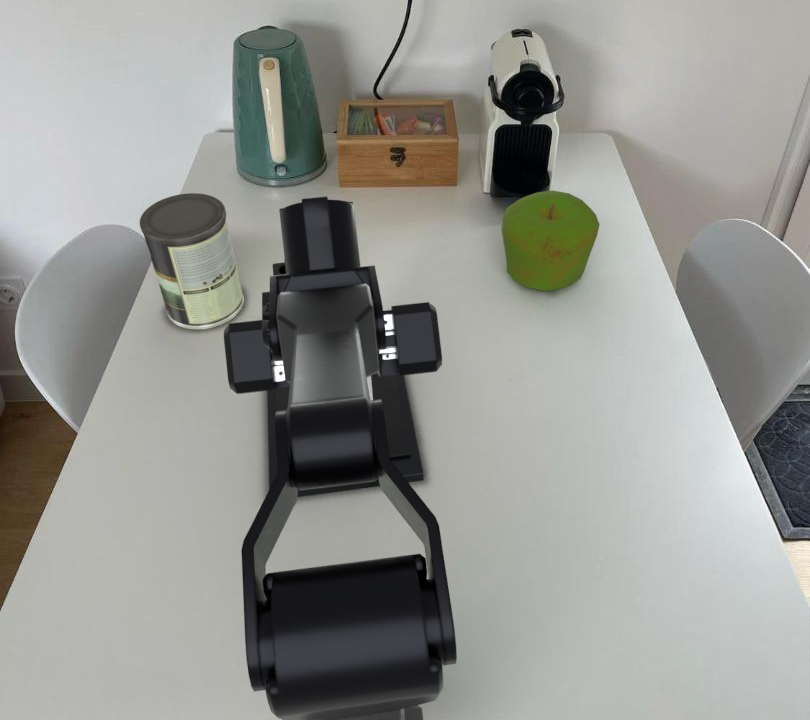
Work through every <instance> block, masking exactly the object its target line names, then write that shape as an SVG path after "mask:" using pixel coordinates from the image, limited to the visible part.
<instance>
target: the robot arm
mask: <svg viewBox="0 0 810 720" xmlns="http://www.w3.org/2000/svg"><path fill="white" fill-rule="evenodd" d="M354 205H355V204H354V202H353V201H347V200H341V199H329V198H328V196H327V195H324V196H316V197H305V198H301V202H296V203H293V204H290V205H287V206H285V207H283V208H279V219H280V228H281V239H282V248H283V257H284V259H283V260H284V261H283V262H275V263H273V264H272V275H269V291H263V292H261V319H258V320H257V319H255V320H248V321H247V320H246V321H239V322H238V321H237V322H230V323H228V324H227V325H226V327H225V328H224V330H223V345H224V353H225V355H224V356H225V363H226V371H227V374H226V375H227V382H228V385H229V389H230V390H231V391H233V392H234V393H235V394H236V395H244V394H251V393H253V394H254V393H260V392H261V393H262V392H267V391H270V390H276V389H282V388H290V390H289V400H288V408H287V410H281V411H276V414H275V434H276V450H277V466H278V473H277V476H276V477H275V479H274V481H273V483H272V485H271V487H270V489H269V488H268V491H267V494H266V495H265V497H264V499H263V501H262V504H261V506H260V507H259V509H258V511H257V512H256V514H255V516H254V519H253V521H252V523H251V525H250V527H249V528H248V531H247V533H246V535H245V537H244V539H243V541H242V546H241V549H240V551H241V552H240V553H241V573H242V574H241V575H242V576H241V577H242V596H243V597H242V600H243V618H244V619H243V620H244V621H243V624H244V641H245V642H244V643H245V644H244V645H245V657H246V666H247V673H248V679H249V684H250V687H251V689H252V690H253V692H262V691H265V696H266V699H267V704H268V706H269V709H270V712H271V713H272V714H273V715H274V716H275V717H276V718H277V719H279V720H424V713H423V708H422V707H421V706H420V705H424V704H428V703H432V702H436V700H437V699H438V697H439V696H440V695H441V693H442V691H443V689H444V671H443V666H448V665H450V666H451V665H456V664H457V659H458V657H457V656H458V654H457V640H456V631H455V623H454V616H453V608H452V602H451V596H450V589H449V582H448V576H447V569H446V562H445V556H444V550H443V541H442V536H441V535H442V534H441V530H440V528H441V527H440V524H439V522H438V519H437V517H436V516H435V514H434V513H433V512H432V510H431V509H430V508H429V507H428V505H427V504H426V503H425V502H424V500H423V499H422V498H421V497H420V495H419V494H418V493H417V491H416V490H415V489H414V488H413V486H411V484H410V482H407V480H406V479H405V478H404V477H403V475H402V474H401V473H400V472H399V470H398V469H397V468H396V466H395V465H394V464H393V463H392V461H391V460H390V457H389V449H388V441H387V434H386V426H385V418H384V411H383V405H382V400H381V399H378V400H370V395H369V389H368V383H367V377H369V376H371V375H374V374H376V373H378V375H379V376H380V377H389V376H398V375H399V376H403V375H404V376H412V375H413V376H414V375H420V374H429V373H436V372H438V370H439V369H440V368H441V367H442V365H443V354H442V346H441V336H440V327H439V321H438V320H439V318H438V312H437V309H436V307H435V306H434V305H433V304H432V303H431V302H430V301H427V302H426V301H425V302H416V303H408V304H399V305H398V304H397V305H391V307H390V309H387V310H384V308H383V301H382V296H381V290H380V285H379V280H378V275H377V269H376V265H374V264H371V265H361V259H360V249H359V240H358V232H357V223H356V212H355V206H354ZM378 477H379V484H380V486H379V487H380V489H381V491H382V493H383V494H384V495H385V497H386V498H387V499H388V500H389V501H390V503H391V504H392V506H393V507H394V508H395V509H396V511H397V512H398V513H399V514H400V516H401V517H402V518H403V519H404V521H405V522H406V523H407V525H408V526H409V527H410V528H411V530H412V531H413V532H414V534H415V535H416V537H417V538H418V540H420V542H421V543H422V544H423V547H424V555H425V556H424V555H422V554H421V553H414V554H407V555H399V556H391V557H390V556H389V557H383V558H375V559H368V560H360V561H352V562H344V563H337V564H328V565H321V566H320V565H319V566H313V567H305V568H297V569H290V570H282V571H281V570H280V571H273V572H266V565H267V563H268V560H269V558H270V556H271V555H272V553H273V551H274V548H275V546H276V544H277V542H278V540H279V538H280V536H281V533H282V531H283V530H284V528H285V527H286V526H285V525H286V524H287V522H288V520H289V518H290V515H291V513H292V511H293V510H294V507H295V505H296V503H297V499H298V497H297V495H298V489H299V490H307V489H315V488H323V487H332V486H340V485H348V484H356V483H365V482H373V481H376V480H377V478H378Z"/></svg>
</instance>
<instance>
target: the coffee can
mask: <svg viewBox="0 0 810 720" xmlns="http://www.w3.org/2000/svg"><path fill="white" fill-rule="evenodd" d="M139 227H140V230H141V232H142V234H143V237H144V240H145V244H146V247H147V250H148V253H149V256H150V261H151V263H152V266H153V269H154V273H155V276H156V279H157V282H158V286H159V290H160V293H161V295H162V299H163V302H164V305H165V309H166V315H167V317H168V319H169V320H170V321H171V322H172V323H173V324H174V325H175V326H178V327H180V328H183V329H186V330H193V331H195V330H198V331H199V330H209V329H213V328H216V327H220V326H222V325H224V324H227V323H228V322H230V321H231V320H232V319H234V318H235V317H236V316H237V315H238V314H239V313H240V312H241V310H242V309H243V306H244V304H245V297H244V293H243V289H242V286H241V280H240V276H239V272H238V267H237V262H236V258H235V254H234V253H235V252H234V248H233V244H232V239H231V233H230V230H229V225H228V221H227V210H226V207H225V205H224V203H223V202H222V201H221V200H220V199H219V198H216V197H215V196H213V195H210V194H205V193H196V192H195V193H193V192H192V193H189V192H187V193H180V194H179V193H178V194H176V195H172V196H168V197H166V198H165V197H164V198H163V199H160V200H158V201H156V202H154V203H153V204H151V205H150V206H149V207H147V208H146V209H145V210H144V211H143V213H142V214H141V216H140V217H139Z"/></svg>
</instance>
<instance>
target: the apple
mask: <svg viewBox="0 0 810 720" xmlns="http://www.w3.org/2000/svg"><path fill="white" fill-rule="evenodd" d="M501 221H502V222H501V236H502V240H503V241H502V242H503V247H504V255H505V261H506V273H507V274H508V275H509V276H510V277H511V279H512V280H513V281H514V282H516V283H518V284H519V285H522V286H524V287H525V288H529V289H536V290H539V291H542V292H554V291H559V290H561V289H564V288H567V287H570V286H573V285H574V284H575V283H576V282H578V281H579V280H581V279H582V276H583V274H584V272H585V270H586V267H587V264H588V261H589V258H590V256H591V253H592V251H593V248H594V245H595V243H596V240H597V237H598V234H599V230H600V222H599V219H598V217H597V214H596V213H595V212H594V210H592V208H591V207H590V206H589V205H588V204H587V203H586V202H585V201H584V200H583V199H581V198H579V197H578V196H575V195H573V194H571V193H569V192H564V191H560V190H559V191H558V190H545V191H538V192H534V193H532V194H529V195H526V196H524V197H522V198H520V199H518V200H516V201H515V202H513V203H512V204H511V205H509V206H508V207H507V208H506V209H505V212H504V214H503V217H502V219H501Z"/></svg>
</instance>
